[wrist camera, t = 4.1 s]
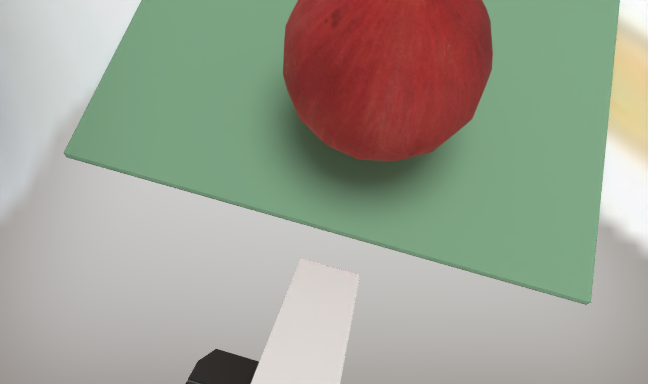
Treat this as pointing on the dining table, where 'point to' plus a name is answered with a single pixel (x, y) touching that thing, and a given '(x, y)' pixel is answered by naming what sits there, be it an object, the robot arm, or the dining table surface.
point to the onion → (387, 72)
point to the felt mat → (371, 175)
